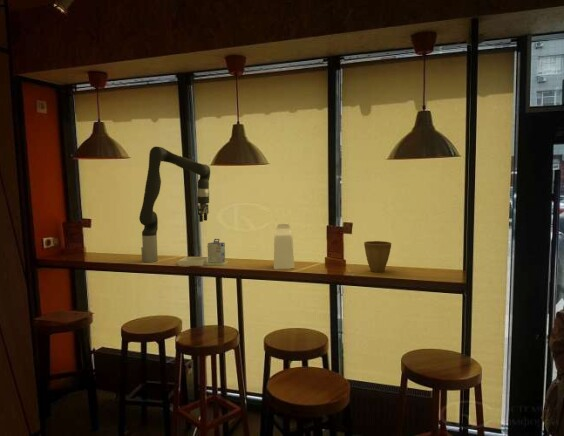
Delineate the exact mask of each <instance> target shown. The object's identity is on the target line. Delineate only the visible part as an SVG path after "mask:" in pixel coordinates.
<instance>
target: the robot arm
mask: <svg viewBox="0 0 564 436" xmlns="http://www.w3.org/2000/svg"><path fill="white" fill-rule="evenodd" d="M148 155H149V157H148V170H147V176H146V179H145V187H144V195H143V201H142V206H141V209H140V213H139V217H138V219H139V222H140V224H141V225H143V229H142V231H141V240H142V241H141V242H142V244H141V245H142V247H141V248H140V249H141V262H142V261H144V262H143V263H154V261H155V262H158V259H159V257H158V238H157V237H158V236H157V233H158V230H159V229H158V223H159V221H158V215H157V212H155V211H154V206H155V203H156V201H157V199H158V197H159V194H160V192H161V191H160V190H161V186H162V179H161V172H160V168H161V164H162V162H164V163H169V164H173V165H175V166H177V167H179V168H181V169H183V170H187V171H189V172H192V173H194V174H197V175H199V179H198V180H197V190H196V191H197V192H196V195H197V196H196V201H197V204H199V205H197V216H198V217H199V218H198V221H199V222H200V223H203V222H204V221H205V222H206V221H208V214H209V213H210V212H209V211H210V210H209V203H210V178H211V177H210V176H211V167H210V166H209V165H207V164H203V163H199V162H196V161H195V160H193V159H190V158H187V157H184V156H181V155H178V154H175V153H173V152H171V151H170V150H167V149H166V148H165V147H163V146H162V147H161V146H153V147H151V149H150V150H149V153H148Z"/></svg>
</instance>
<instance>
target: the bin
mask: <svg viewBox="0 0 564 436" xmlns="http://www.w3.org/2000/svg"><path fill="white" fill-rule="evenodd" d="M207 262H208V256H185V257H182V258H180V259H179V260H178V261H177V265H178V266H184V267H185V266H186V267H187V266H190V267H191V266H192V267H193V266H195V267H196V266H197V267H202V266H205V263H207Z"/></svg>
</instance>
